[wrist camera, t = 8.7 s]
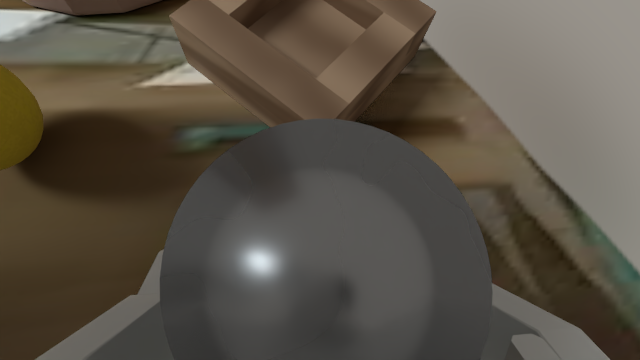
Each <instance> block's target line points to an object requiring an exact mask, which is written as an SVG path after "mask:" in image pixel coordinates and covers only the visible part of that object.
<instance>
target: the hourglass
mask: <svg viewBox="0 0 640 360" xmlns="http://www.w3.org/2000/svg"><path fill="white" fill-rule="evenodd" d="M22 1H24V2H26V3H27V4H29V5H31V6H35V7H40V8H45V9H49V10H54V11H59V12H64V13H68V14H73V15H92V14H110V13H125V12H128V11H131V10H134V9H137V8H140V7H143V6H147V5H150V4H153V3H156V2H159V1H162V0H22Z"/></svg>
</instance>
